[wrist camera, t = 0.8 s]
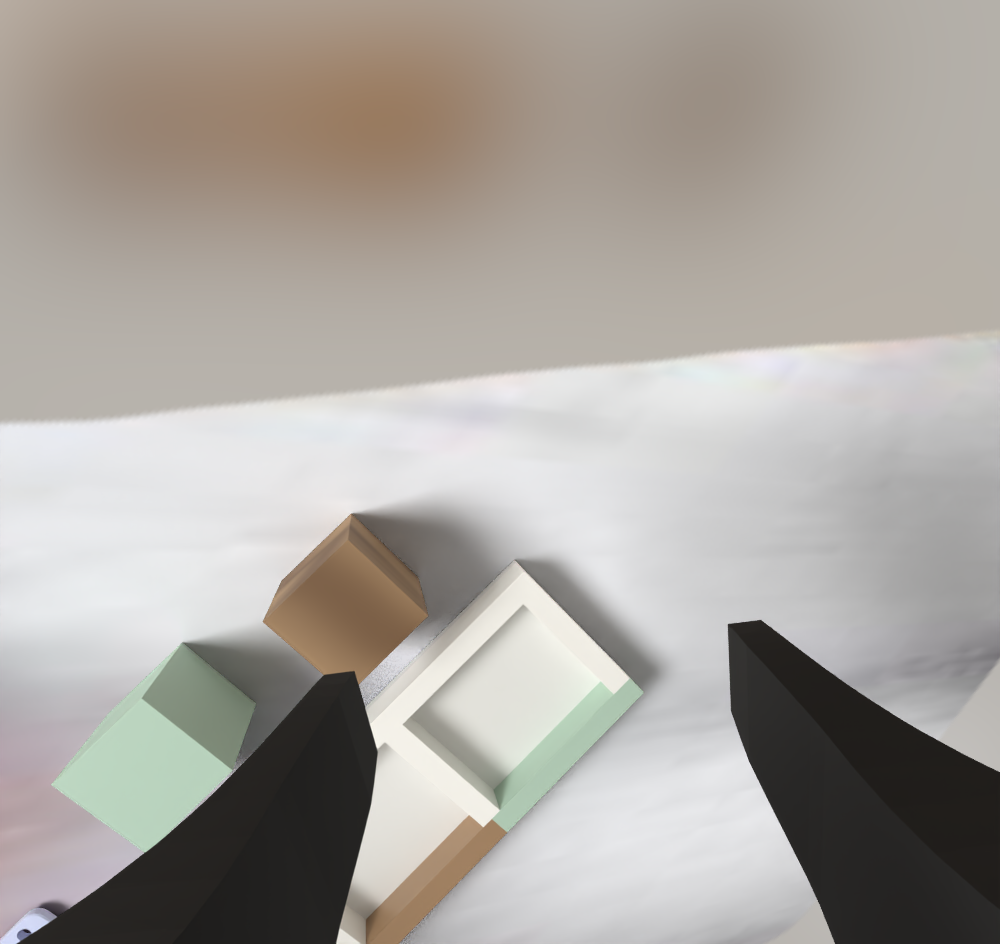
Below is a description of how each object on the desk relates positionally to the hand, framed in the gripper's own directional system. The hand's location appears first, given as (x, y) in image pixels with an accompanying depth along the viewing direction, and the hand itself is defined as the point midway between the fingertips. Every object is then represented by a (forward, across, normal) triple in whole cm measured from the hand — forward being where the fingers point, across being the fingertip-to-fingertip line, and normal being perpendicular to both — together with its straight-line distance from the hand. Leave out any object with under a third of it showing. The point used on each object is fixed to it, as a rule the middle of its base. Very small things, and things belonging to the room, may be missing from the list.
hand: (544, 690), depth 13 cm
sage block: (+11, +16, +8) cm, 21 cm away
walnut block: (+14, +8, +5) cm, 17 cm away
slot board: (+13, +6, +13) cm, 19 cm away
